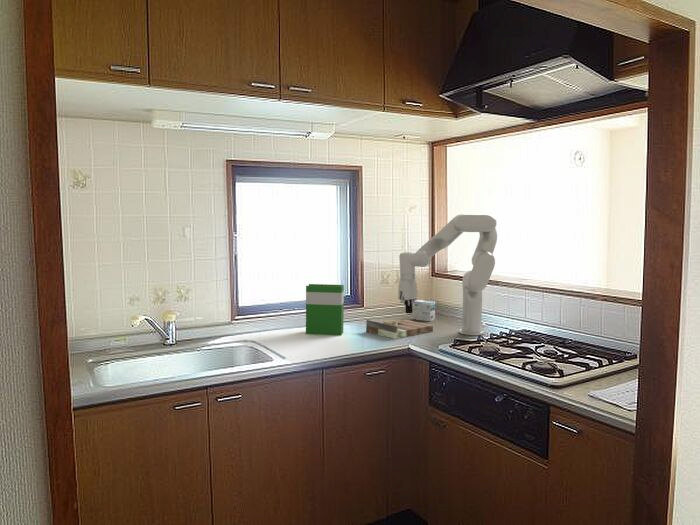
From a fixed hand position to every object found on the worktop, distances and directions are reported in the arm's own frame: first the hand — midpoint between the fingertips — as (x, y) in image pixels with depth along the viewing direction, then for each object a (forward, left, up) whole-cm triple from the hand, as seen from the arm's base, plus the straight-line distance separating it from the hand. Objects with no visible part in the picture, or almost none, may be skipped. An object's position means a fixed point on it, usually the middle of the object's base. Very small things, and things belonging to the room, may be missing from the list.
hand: (409, 313), depth 263 cm
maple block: (+12, -1, -7) cm, 14 cm away
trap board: (+2, -4, -10) cm, 11 cm away
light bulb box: (-32, -17, -10) cm, 37 cm away
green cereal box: (+34, -25, -10) cm, 44 cm away
